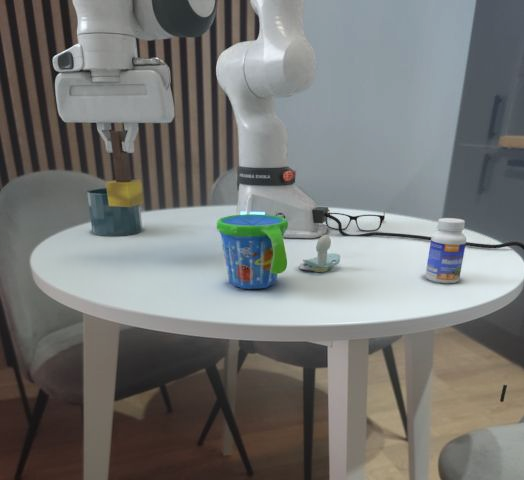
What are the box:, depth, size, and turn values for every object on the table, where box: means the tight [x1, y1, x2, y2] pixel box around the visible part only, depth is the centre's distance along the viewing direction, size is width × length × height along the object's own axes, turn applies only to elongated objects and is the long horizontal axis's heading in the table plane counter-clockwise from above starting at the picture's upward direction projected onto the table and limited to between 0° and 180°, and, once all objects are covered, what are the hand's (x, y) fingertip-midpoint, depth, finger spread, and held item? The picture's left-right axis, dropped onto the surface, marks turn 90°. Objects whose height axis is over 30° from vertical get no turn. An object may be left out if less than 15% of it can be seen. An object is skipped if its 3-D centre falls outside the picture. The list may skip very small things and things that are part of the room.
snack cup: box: [216, 214, 288, 290], centre depth 77 cm, size 16×10×10 cm
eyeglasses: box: [324, 208, 386, 233], centre depth 123 cm, size 14×14×4 cm
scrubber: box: [105, 130, 144, 207], centre depth 86 cm, size 4×4×12 cm
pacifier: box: [298, 234, 341, 273], centre depth 86 cm, size 7×6×6 cm
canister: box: [86, 187, 143, 237], centre depth 114 cm, size 11×11×9 cm
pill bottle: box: [425, 217, 467, 284], centre depth 81 cm, size 5×5×10 cm
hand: (120, 152), depth 84 cm, fingers closed on scrubber, 2 cm apart
